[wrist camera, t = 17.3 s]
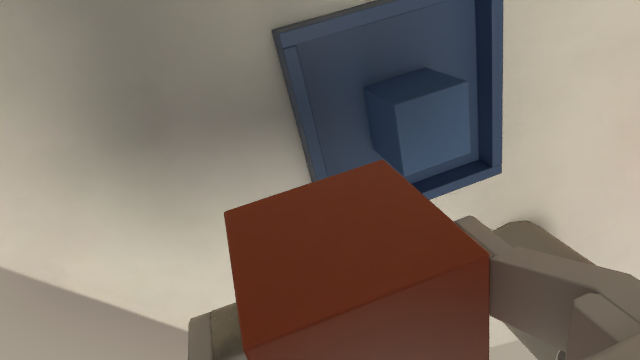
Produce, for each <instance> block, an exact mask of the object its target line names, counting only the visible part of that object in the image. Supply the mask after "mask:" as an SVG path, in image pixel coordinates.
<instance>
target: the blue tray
mask: <svg viewBox="0 0 640 360" xmlns="http://www.w3.org/2000/svg"><path fill="white" fill-rule="evenodd" d="M272 34H273V38H274V41H275V45H276V49H277V52H278V56H279V60H280V64H281V67H282V71H283V75H284V79H285V82H286V86H287V90H288V94H289V97H290V101H291V105H292V109H293V112H294V116H295V120H296V124H297V127H298V131H299V135H300V138H301V142H302V146H303V150H304V153H305V157H306V161H307V165H308V168H309V172H310V176H311V180H312V182H315V181H318V180H321V179H324V178H327V177H330V176H334V175H337V174H340V173H343V172H346V171H349V170H352V169H355V168H358V167H361V166H364V165H367V164H370V163H373V162H376V161H379V160H384V161H386V160H385V159H384V158H383V157H381V156H380V155H379V154H378V153H377V152H376V151H375V150H374V148H373V143H372V137H371V131H370V125H369V119H368V113H367V107H366V101H365V95H364V90H363V87H365V86H369V85H372V84H375V83H378V82H381V81H385V80H388V79H391V78H394V77H397V76H401V75H404V74H407V73H410V72H413V71H417V70H420V69H423V68H429V69H432V70H435V71H438V72H441V73H444V74H447V75H450V76H453V77H456V78H459V79H462V80H465V81H468V95H469V123H470V153H469V154H466V155H463V156H460V157H457V158H454V159H452V160H449V161H446V162H443V163H440V164H438V165H435V166H432V167H429V168H426V169H424V170H421V171H418V172H415V173H412V174H410V175H407V176H403V175H402V174H401V173H400V172H398V171H397V170H396V169H395V168H394V167H393V166H392V165H391V164H389V163H388V162H387V161H386V162H387V163H388V164H389V165H390V166H391V167H392V168H393V169H395V170H396V171H397V172H398V173H399V174H400V175H401V176H403V177H404V178H405V179H406V180H407V181H408V182H409V183H410V184H412V185H413V186H414V187H415V188H416V189H417V190H418V191H419V192H421V193H422V194H423V195H424V196H425V197H426V198H427V199H428V200H430V199H433V198H436V197H438V196H441V195H444V194H446V193H449V192H452V191H454V190H457V189H460V188H463V187H465V186H468V185H471V184H473V183H476V182H479V181H481V180H484V179H487V178H490V177H492V176H495V175H498V174H500V173H502V165H501V164H502V91H503V0H377V1H374V2H370V3H367V4H363V5H359V6H356V7H352V8H349V9H345V10H341V11H338V12H334V13H331V14H327V15H324V16H320V17H316V18H313V19H309V20H306V21H302V22H299V23H295V24H291V25H288V26H284V27H281V28H277V29H273V30H272Z"/></svg>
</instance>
